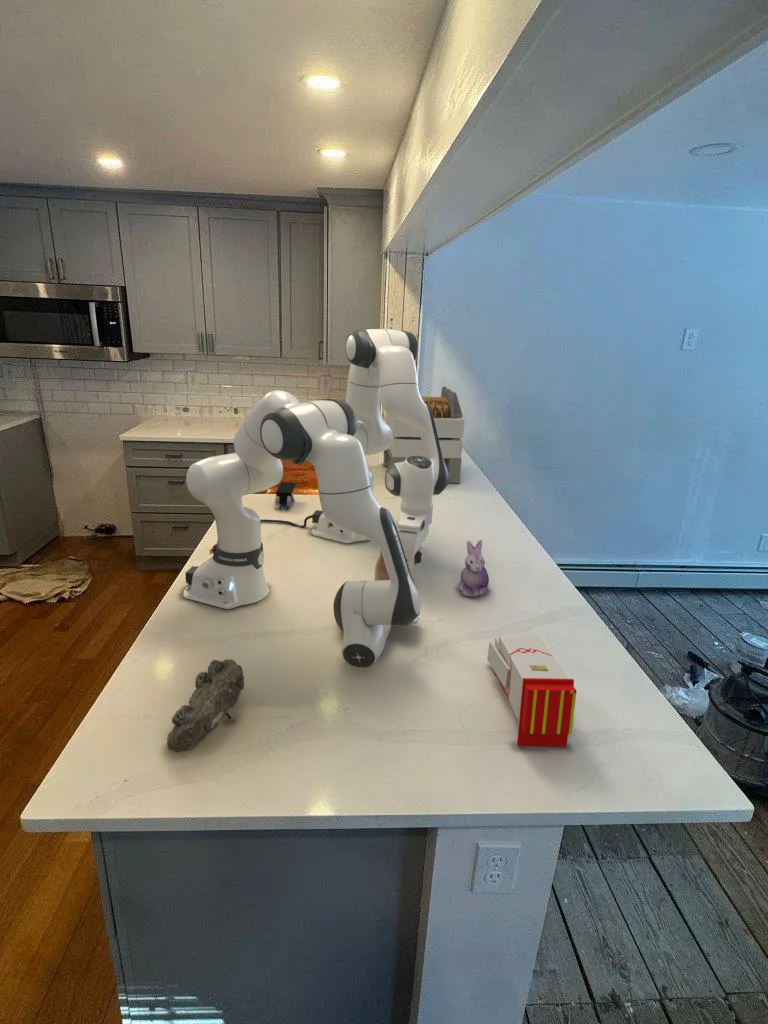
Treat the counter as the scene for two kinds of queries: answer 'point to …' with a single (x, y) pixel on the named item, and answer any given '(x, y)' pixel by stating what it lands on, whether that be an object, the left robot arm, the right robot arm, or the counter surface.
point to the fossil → (206, 705)
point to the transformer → (447, 430)
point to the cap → (417, 557)
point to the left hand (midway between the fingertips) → (384, 592)
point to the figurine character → (285, 494)
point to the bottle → (381, 569)
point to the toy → (534, 690)
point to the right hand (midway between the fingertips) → (413, 561)
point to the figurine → (474, 572)
